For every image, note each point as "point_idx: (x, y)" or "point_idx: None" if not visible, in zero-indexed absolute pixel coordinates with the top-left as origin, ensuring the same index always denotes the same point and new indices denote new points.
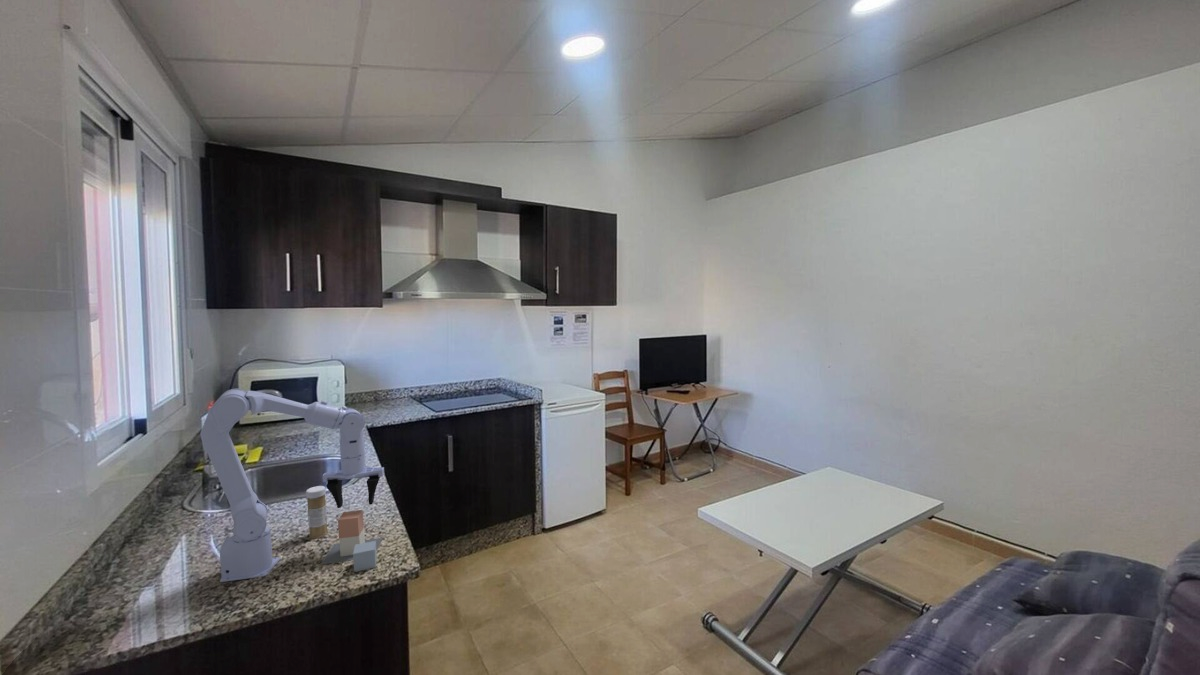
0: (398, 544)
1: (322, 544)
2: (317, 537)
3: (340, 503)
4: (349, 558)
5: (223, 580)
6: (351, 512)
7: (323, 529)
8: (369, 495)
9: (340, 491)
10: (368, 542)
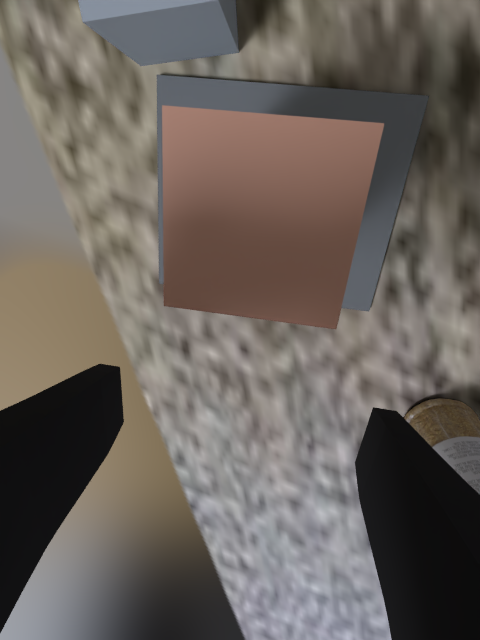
0: (76, 198)
1: (419, 338)
2: (445, 399)
3: (379, 447)
4: (279, 110)
5: None
6: (258, 289)
7: (428, 427)
8: (37, 412)
9: (411, 618)
10: (128, 9)
